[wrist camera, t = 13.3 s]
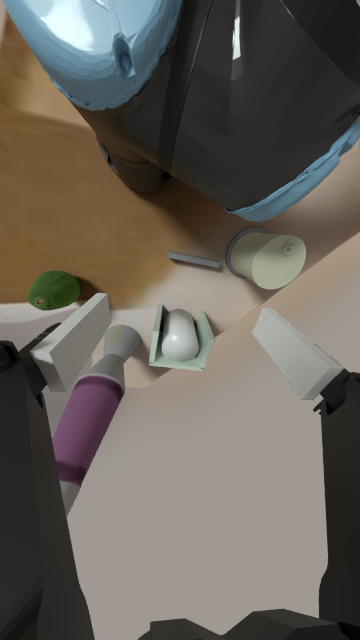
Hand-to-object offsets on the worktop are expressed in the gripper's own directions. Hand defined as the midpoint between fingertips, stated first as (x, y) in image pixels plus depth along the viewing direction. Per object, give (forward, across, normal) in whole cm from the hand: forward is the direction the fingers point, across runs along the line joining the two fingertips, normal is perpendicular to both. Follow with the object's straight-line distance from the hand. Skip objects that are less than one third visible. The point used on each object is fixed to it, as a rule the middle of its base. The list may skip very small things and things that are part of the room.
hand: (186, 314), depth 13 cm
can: (+27, +17, +3) cm, 32 cm away
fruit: (+28, -26, -8) cm, 39 cm away
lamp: (+27, -15, -26) cm, 40 cm away
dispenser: (+27, +3, -11) cm, 30 cm away
